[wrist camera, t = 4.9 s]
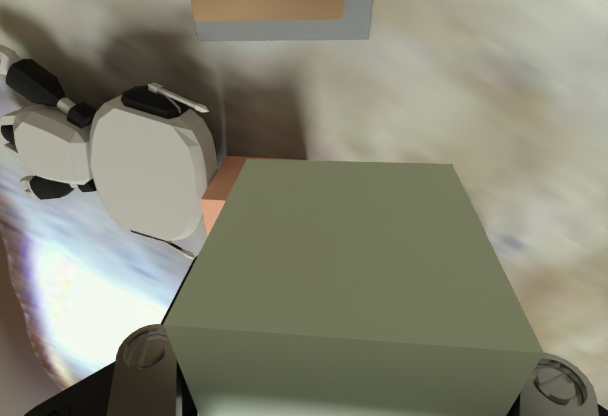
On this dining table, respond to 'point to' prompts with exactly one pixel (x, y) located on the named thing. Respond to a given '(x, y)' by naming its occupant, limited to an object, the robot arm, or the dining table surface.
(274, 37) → the build board
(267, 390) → the sage cube
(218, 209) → the terracotta cube
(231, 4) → the walnut block
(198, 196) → the robot toy
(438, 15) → the dining table surface
